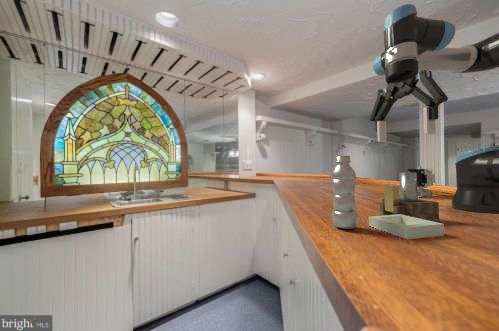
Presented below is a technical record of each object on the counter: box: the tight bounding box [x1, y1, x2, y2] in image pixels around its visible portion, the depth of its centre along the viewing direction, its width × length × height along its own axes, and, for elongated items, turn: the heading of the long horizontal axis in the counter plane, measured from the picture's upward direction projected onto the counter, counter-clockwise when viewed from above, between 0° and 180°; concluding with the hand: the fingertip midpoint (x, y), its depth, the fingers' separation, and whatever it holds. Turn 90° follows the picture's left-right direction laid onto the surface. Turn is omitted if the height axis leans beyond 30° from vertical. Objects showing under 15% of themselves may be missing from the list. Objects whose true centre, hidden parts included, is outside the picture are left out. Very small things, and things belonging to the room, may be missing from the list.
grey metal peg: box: [398, 172, 419, 202], centre depth 64 cm, size 4×4×15 cm
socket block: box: [379, 198, 440, 223], centre depth 63 cm, size 13×10×6 cm
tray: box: [368, 214, 445, 240], centre depth 52 cm, size 11×11×3 cm
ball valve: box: [407, 165, 436, 198], centre depth 112 cm, size 18×8×18 cm, turn 124°
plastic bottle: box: [330, 155, 359, 230], centre depth 55 cm, size 6×7×20 cm
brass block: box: [383, 184, 400, 212], centre depth 62 cm, size 2×3×8 cm
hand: (403, 138), depth 56 cm, fingers open, 13 cm apart
